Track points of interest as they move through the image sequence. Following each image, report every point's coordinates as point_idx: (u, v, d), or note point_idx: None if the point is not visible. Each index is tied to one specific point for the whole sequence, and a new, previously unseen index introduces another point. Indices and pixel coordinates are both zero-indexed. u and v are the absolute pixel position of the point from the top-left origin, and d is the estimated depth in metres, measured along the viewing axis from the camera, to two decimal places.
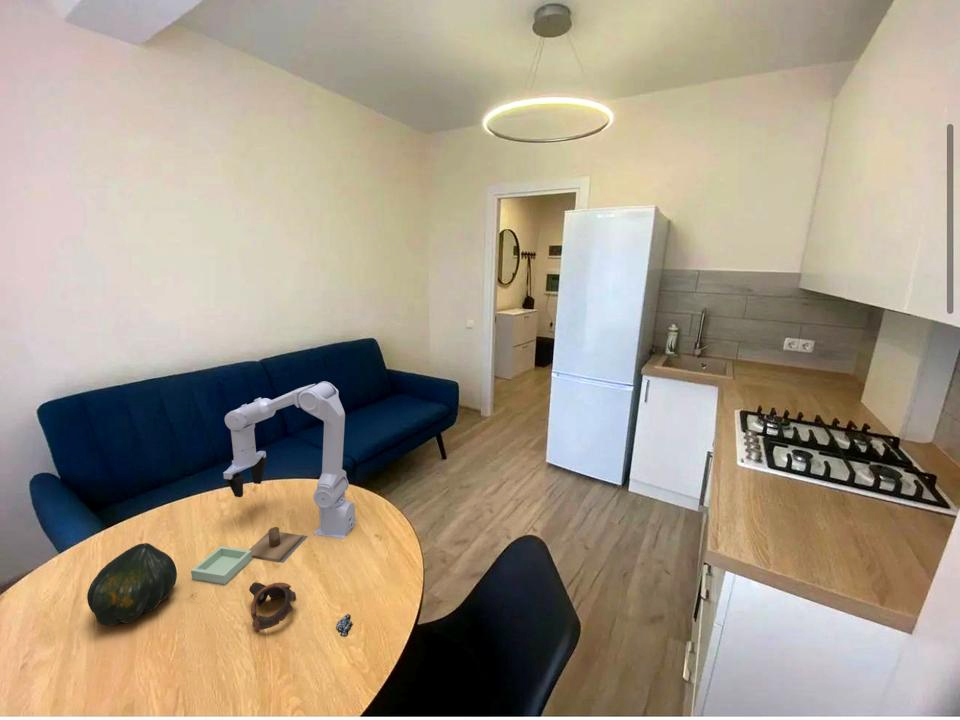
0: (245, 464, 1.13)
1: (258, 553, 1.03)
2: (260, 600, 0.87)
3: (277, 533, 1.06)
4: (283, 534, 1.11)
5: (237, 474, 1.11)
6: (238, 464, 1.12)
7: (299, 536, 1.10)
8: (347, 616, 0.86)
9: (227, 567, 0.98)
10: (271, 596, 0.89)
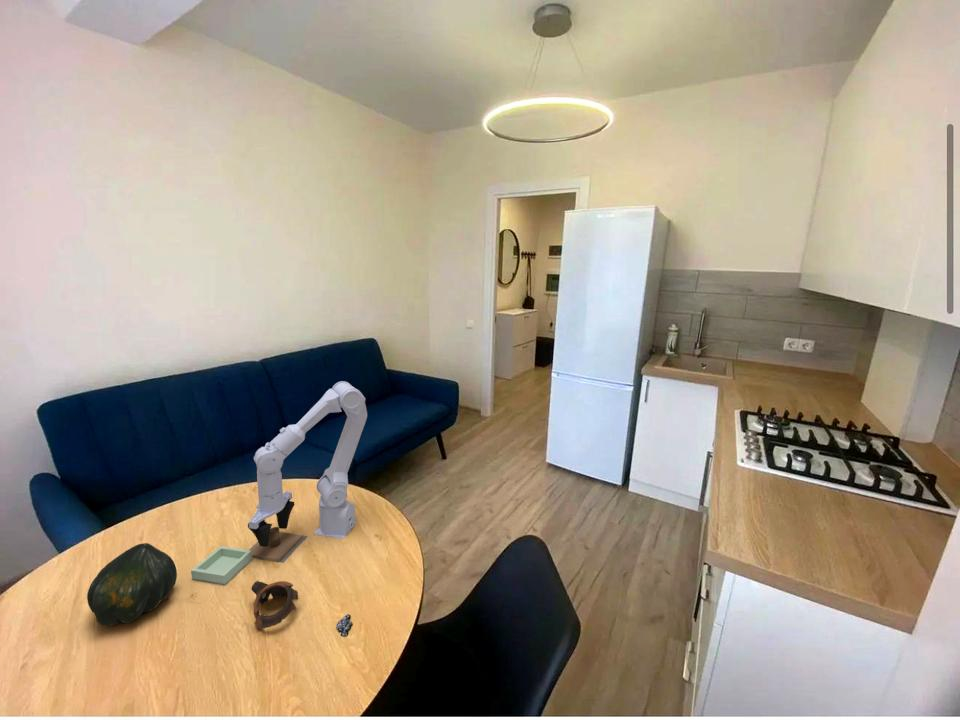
0: (272, 510, 1.02)
1: (258, 553, 1.03)
2: (262, 598, 0.87)
3: (277, 533, 1.06)
4: (283, 534, 1.11)
5: (263, 522, 1.00)
6: (264, 510, 1.02)
7: (299, 536, 1.10)
8: (347, 616, 0.86)
9: (227, 567, 0.98)
10: (273, 595, 0.90)
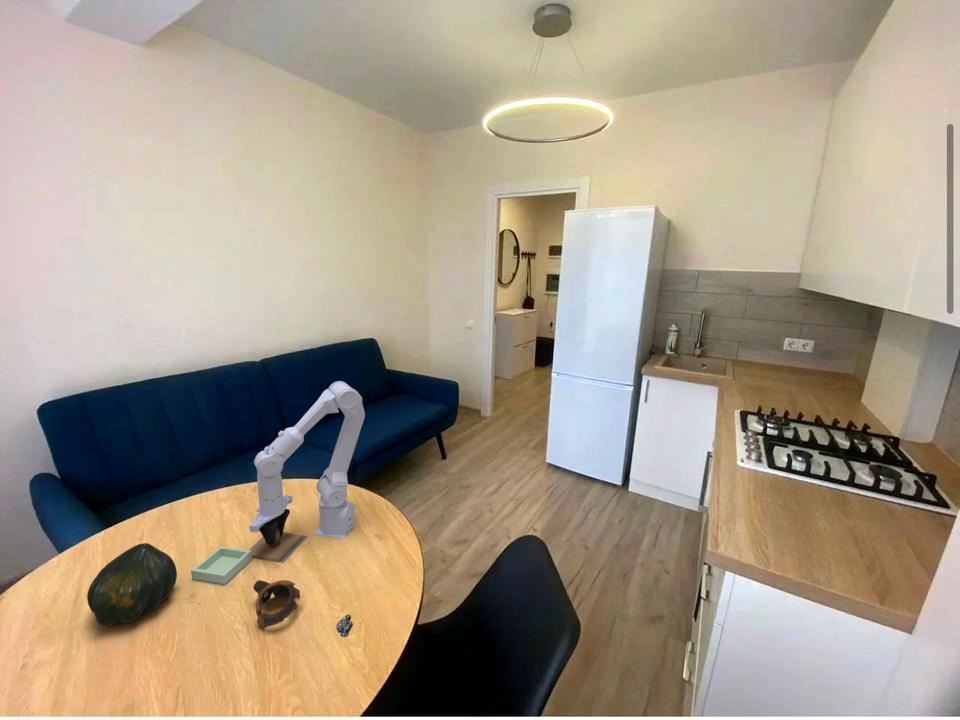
0: (272, 514, 1.02)
1: (258, 553, 1.03)
2: (264, 597, 0.88)
3: (277, 533, 1.06)
4: (283, 534, 1.11)
5: (269, 520, 1.03)
6: (264, 514, 1.02)
7: (299, 536, 1.10)
8: (347, 616, 0.86)
9: (227, 567, 0.98)
10: (275, 594, 0.90)
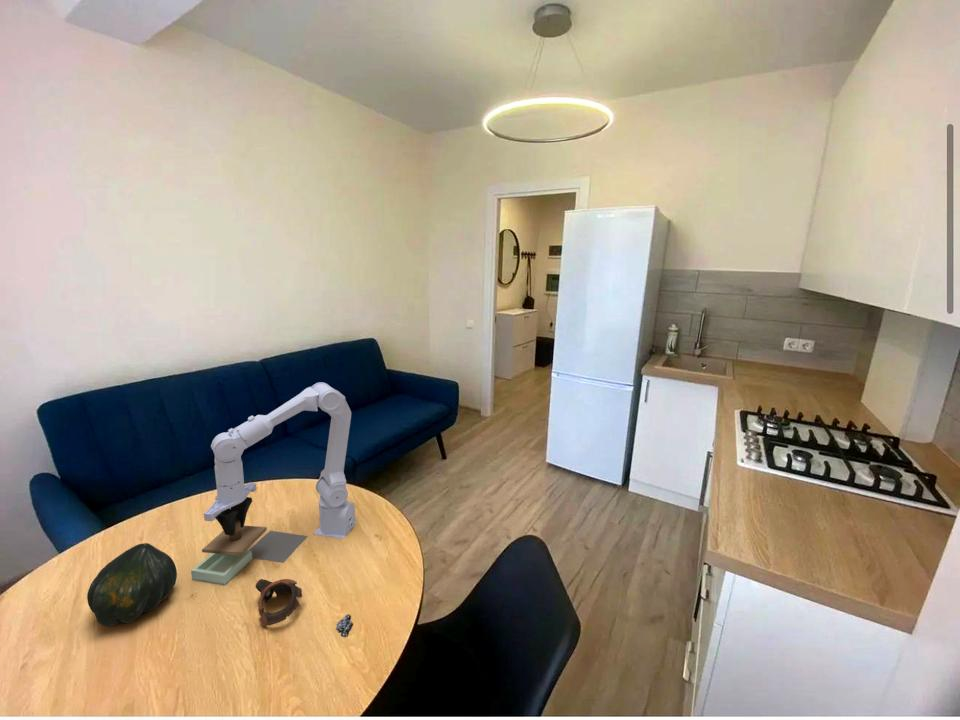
0: (231, 502, 0.95)
1: (217, 547, 0.95)
2: (266, 596, 0.88)
3: (238, 525, 0.98)
4: (244, 527, 1.03)
5: (228, 509, 0.95)
6: (222, 502, 0.94)
7: (263, 528, 1.03)
8: (347, 616, 0.86)
9: (227, 567, 0.98)
10: (277, 593, 0.90)
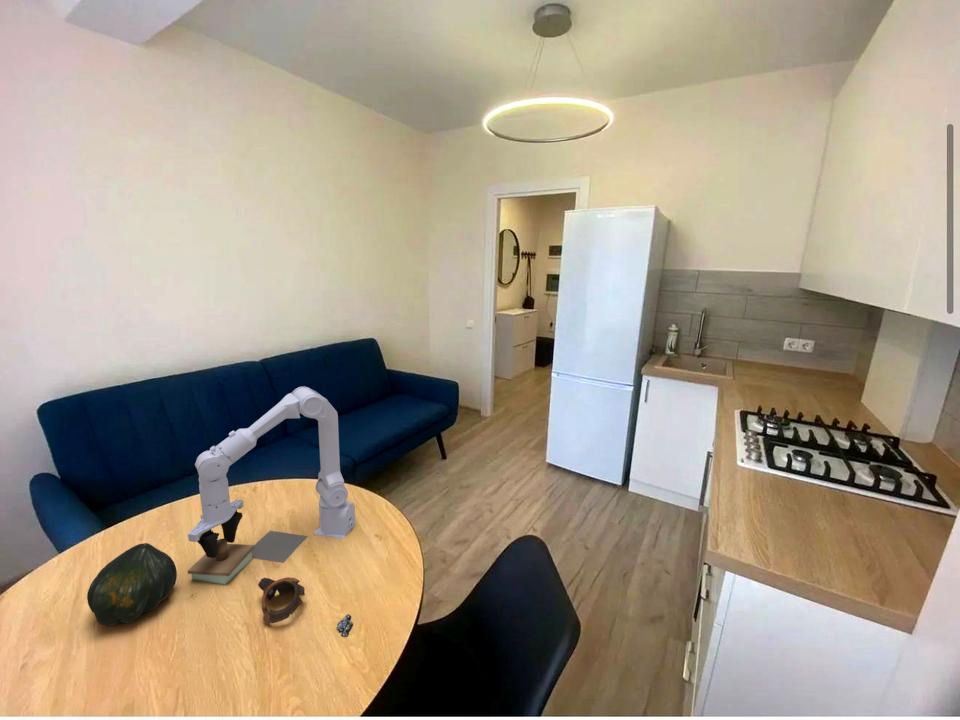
0: (216, 521, 0.93)
1: (203, 568, 0.94)
2: (269, 595, 0.89)
3: (225, 545, 0.97)
4: (231, 546, 1.02)
5: (209, 531, 0.92)
6: (207, 521, 0.93)
7: (250, 546, 1.02)
8: (348, 616, 0.86)
9: None
10: (280, 591, 0.91)
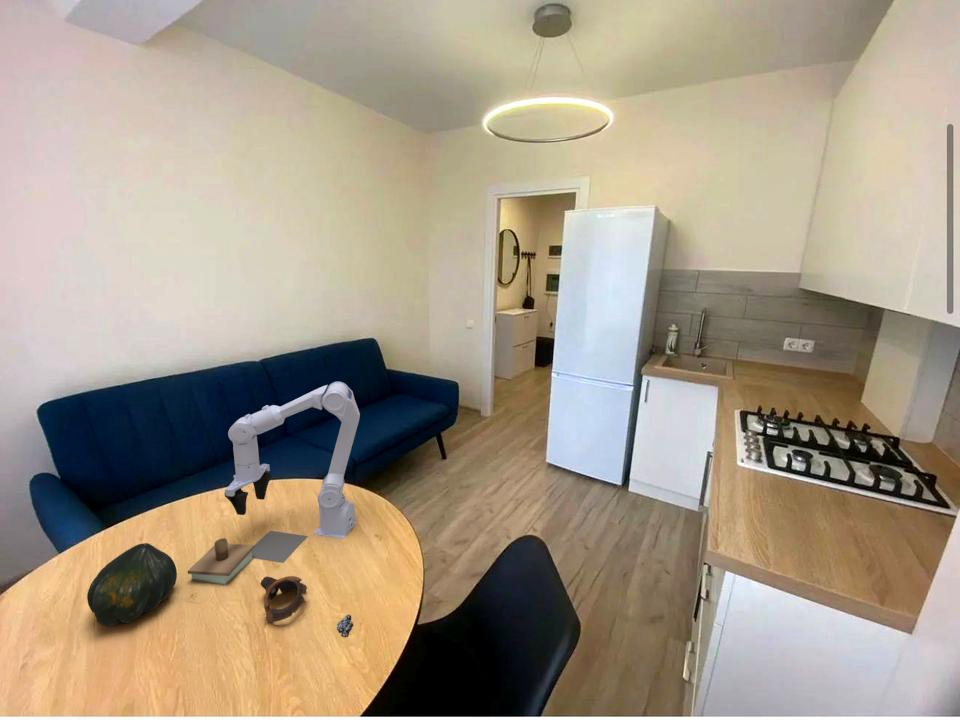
0: (248, 479, 1.05)
1: (203, 568, 0.94)
2: (271, 593, 0.89)
3: (225, 545, 0.97)
4: (231, 546, 1.02)
5: (240, 490, 1.03)
6: (241, 479, 1.04)
7: (250, 546, 1.02)
8: (348, 617, 0.86)
9: None
10: (282, 590, 0.91)
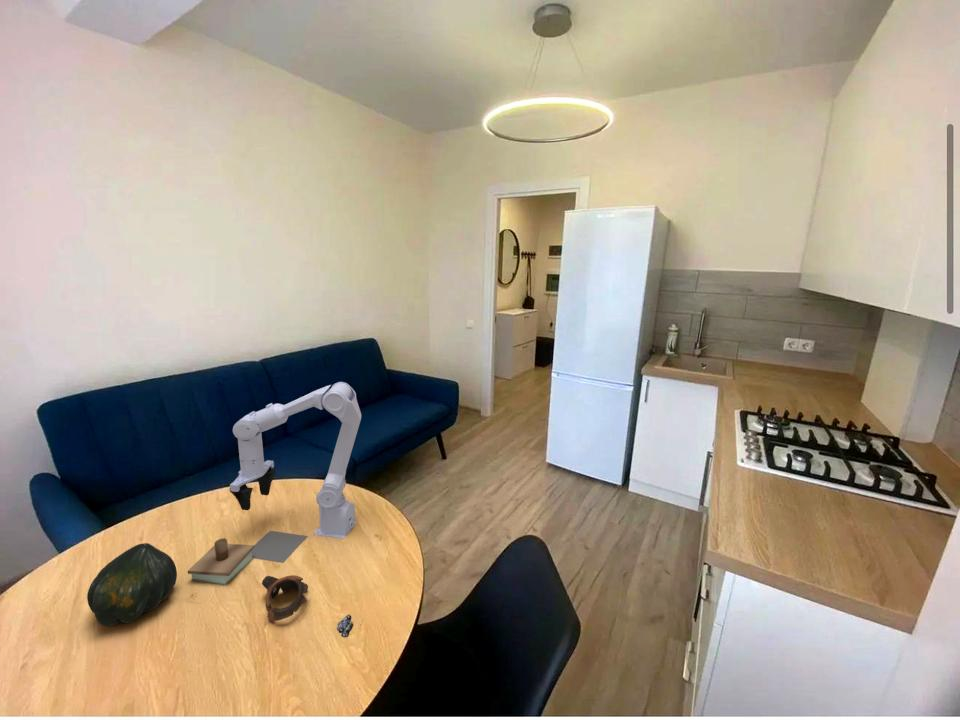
0: (253, 475, 1.07)
1: (203, 568, 0.94)
2: (273, 593, 0.89)
3: (225, 545, 0.97)
4: (231, 546, 1.02)
5: (244, 486, 1.05)
6: (245, 475, 1.07)
7: (250, 546, 1.02)
8: (348, 617, 0.86)
9: None
10: (283, 589, 0.92)
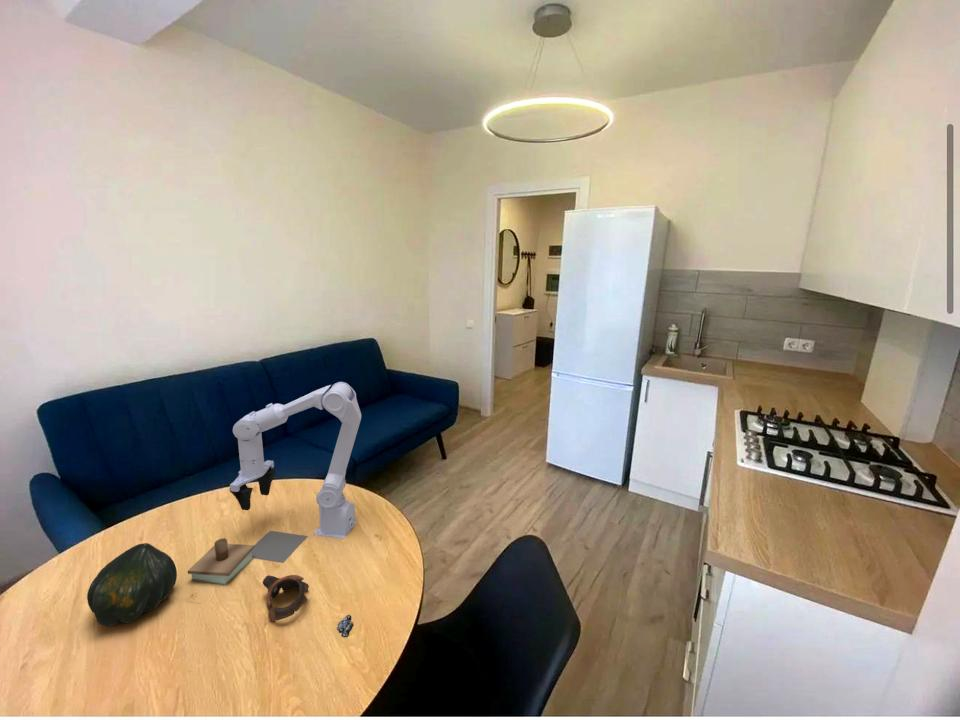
0: (253, 475, 1.07)
1: (203, 568, 0.94)
2: (273, 592, 0.89)
3: (225, 545, 0.97)
4: (231, 546, 1.02)
5: (244, 486, 1.05)
6: (245, 475, 1.07)
7: (250, 546, 1.02)
8: (348, 617, 0.86)
9: None
10: (284, 589, 0.92)
